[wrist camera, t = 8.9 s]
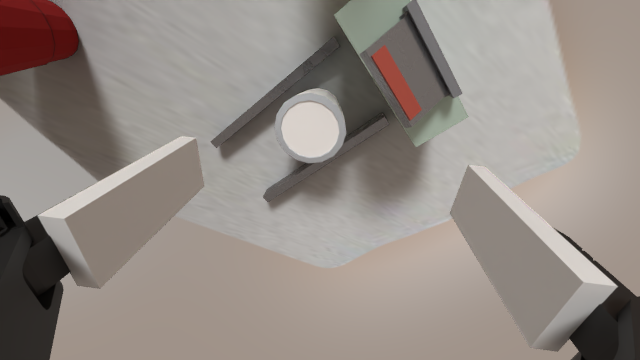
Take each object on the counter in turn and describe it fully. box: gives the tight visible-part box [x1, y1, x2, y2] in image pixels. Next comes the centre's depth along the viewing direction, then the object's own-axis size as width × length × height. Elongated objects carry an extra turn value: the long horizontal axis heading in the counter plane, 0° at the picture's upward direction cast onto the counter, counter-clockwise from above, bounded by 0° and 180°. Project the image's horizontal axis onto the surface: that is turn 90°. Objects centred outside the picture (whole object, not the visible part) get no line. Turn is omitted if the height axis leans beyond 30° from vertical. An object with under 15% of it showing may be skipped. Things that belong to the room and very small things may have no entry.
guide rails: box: [211, 37, 389, 202], centre depth 30 cm, size 10×18×2 cm, turn 126°
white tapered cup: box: [274, 88, 346, 163], centre depth 27 cm, size 7×7×7 cm
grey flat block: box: [359, 11, 450, 128], centre depth 18 cm, size 6×5×1 cm
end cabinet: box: [334, 0, 468, 147], centre depth 22 cm, size 12×4×10 cm, turn 36°
